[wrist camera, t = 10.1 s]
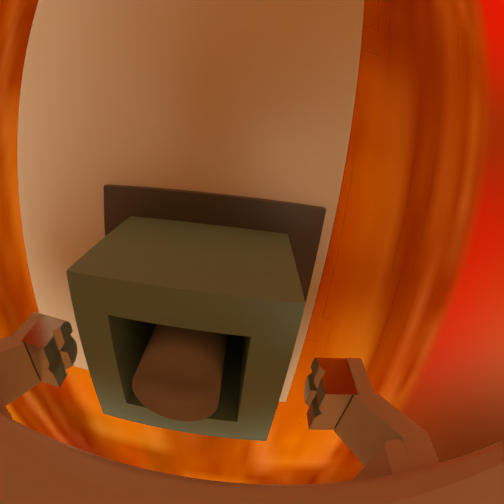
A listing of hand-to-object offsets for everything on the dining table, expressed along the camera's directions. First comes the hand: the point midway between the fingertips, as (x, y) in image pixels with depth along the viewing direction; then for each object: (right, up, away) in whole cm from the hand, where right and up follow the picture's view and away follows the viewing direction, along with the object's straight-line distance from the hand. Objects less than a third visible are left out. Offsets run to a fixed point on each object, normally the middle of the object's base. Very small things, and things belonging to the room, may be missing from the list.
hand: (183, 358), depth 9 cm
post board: (-2, +7, +4) cm, 8 cm away
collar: (0, +2, +4) cm, 4 cm away
